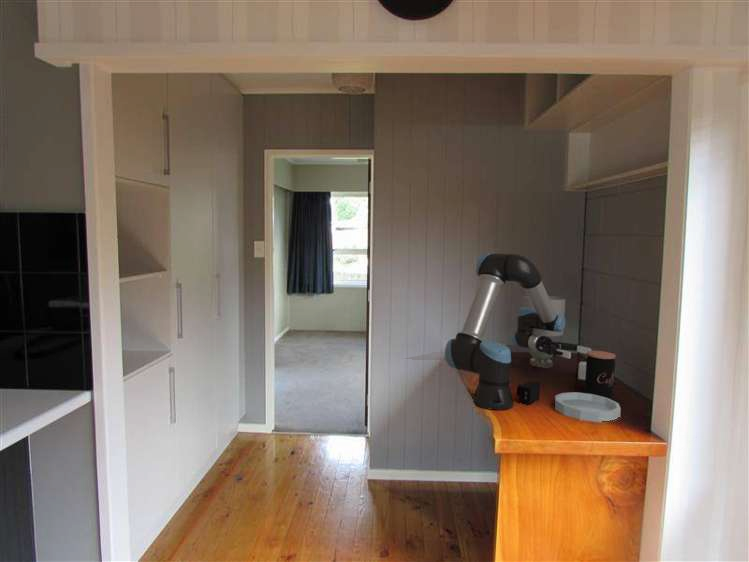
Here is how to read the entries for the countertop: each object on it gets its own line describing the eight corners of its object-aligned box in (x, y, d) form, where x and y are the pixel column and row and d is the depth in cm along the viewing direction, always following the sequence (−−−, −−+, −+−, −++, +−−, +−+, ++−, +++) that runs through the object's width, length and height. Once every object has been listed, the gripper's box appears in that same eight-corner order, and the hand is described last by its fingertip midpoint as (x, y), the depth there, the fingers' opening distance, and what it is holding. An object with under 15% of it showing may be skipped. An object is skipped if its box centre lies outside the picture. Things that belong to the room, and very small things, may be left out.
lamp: (516, 359, 253) (519, 294, 250) (554, 360, 252) (557, 295, 249) (526, 369, 233) (530, 299, 230) (567, 371, 232) (571, 300, 229)
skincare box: (591, 381, 215) (592, 365, 215) (577, 379, 218) (578, 363, 218) (593, 378, 220) (594, 362, 220) (580, 376, 223) (580, 360, 223)
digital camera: (526, 396, 191) (527, 379, 191) (539, 399, 188) (540, 382, 187) (515, 402, 183) (516, 385, 183) (529, 406, 180) (530, 388, 179)
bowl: (602, 426, 160) (603, 416, 160) (543, 408, 177) (544, 399, 177) (629, 413, 174) (630, 403, 174) (572, 397, 191) (573, 389, 191)
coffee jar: (597, 401, 186) (599, 357, 185) (578, 393, 197) (581, 351, 195) (619, 399, 189) (622, 356, 188) (599, 391, 200) (602, 350, 198)
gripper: (558, 348, 225) (598, 358, 207) (521, 354, 213) (560, 365, 195) (558, 333, 225) (599, 341, 206) (522, 338, 212) (561, 348, 194)
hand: (580, 353), depth 201 cm, fingers open, 13 cm apart
